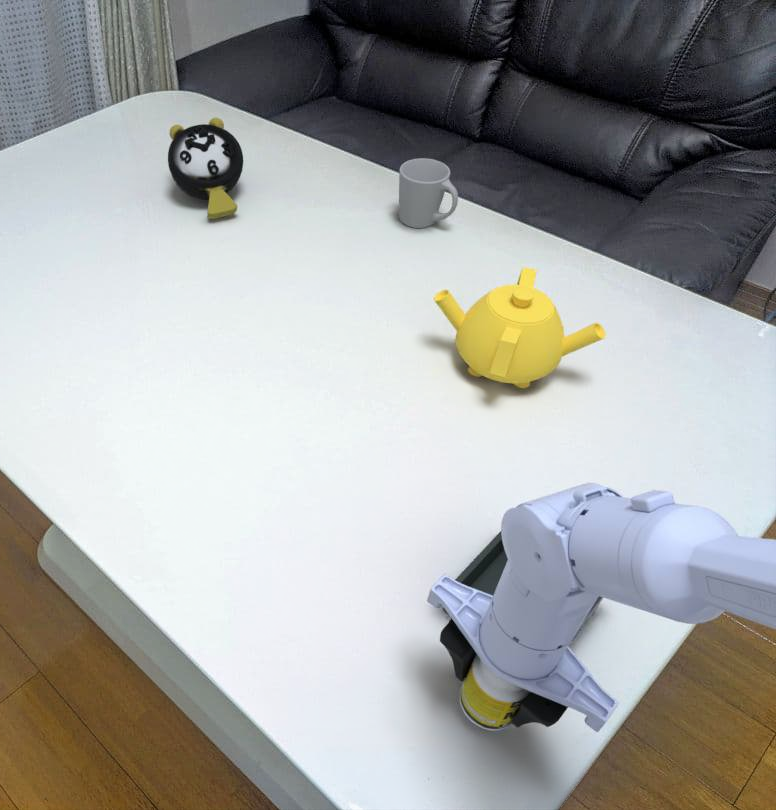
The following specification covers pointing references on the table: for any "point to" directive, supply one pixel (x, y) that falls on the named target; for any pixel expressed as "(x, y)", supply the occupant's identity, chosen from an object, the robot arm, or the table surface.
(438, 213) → the cup
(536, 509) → the robot arm
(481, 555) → the storage tray
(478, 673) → the supplement bottle
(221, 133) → the alarm clock
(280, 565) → the table surface
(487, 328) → the teapot
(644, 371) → the table surface
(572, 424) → the table surface
